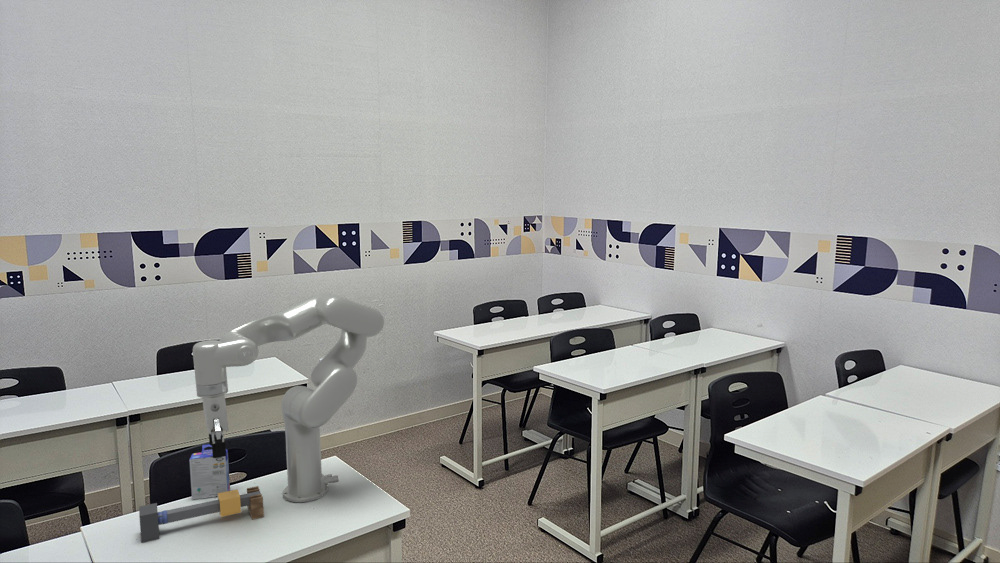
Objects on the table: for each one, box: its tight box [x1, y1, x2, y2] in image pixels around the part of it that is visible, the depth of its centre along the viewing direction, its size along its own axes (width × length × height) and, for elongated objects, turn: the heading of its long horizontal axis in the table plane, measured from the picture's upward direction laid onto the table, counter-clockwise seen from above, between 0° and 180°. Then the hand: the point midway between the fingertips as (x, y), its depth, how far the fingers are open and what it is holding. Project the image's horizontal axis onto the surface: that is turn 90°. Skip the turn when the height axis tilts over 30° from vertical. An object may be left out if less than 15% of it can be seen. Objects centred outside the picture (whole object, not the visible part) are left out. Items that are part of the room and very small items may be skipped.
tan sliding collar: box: [217, 489, 242, 518], centre depth 175 cm, size 5×5×4 cm
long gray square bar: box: [158, 491, 262, 526], centre depth 172 cm, size 27×3×3 cm, turn 119°
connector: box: [138, 502, 163, 544], centre depth 166 cm, size 5×6×7 cm
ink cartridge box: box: [188, 443, 231, 501], centre depth 188 cm, size 10×6×14 cm, turn 108°
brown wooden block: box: [246, 485, 265, 520], centre depth 178 cm, size 3×8×6 cm, turn 29°
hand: (217, 450), depth 172 cm, fingers open, 9 cm apart
